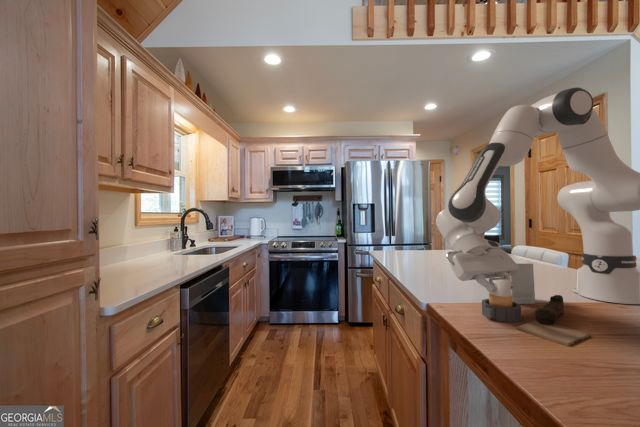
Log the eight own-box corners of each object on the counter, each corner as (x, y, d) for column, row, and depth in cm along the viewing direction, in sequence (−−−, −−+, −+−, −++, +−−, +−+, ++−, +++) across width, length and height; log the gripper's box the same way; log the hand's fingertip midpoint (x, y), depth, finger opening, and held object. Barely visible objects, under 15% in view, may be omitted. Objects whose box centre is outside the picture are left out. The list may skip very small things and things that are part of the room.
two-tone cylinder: (497, 311, 78) (495, 276, 78) (517, 317, 73) (515, 280, 73) (485, 314, 75) (483, 279, 76) (505, 321, 71) (503, 282, 71)
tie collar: (494, 308, 80) (494, 297, 80) (528, 318, 72) (527, 305, 72) (471, 314, 76) (471, 302, 76) (504, 325, 68) (504, 311, 68)
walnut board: (538, 321, 70) (538, 319, 70) (590, 336, 61) (590, 333, 61) (516, 329, 65) (515, 326, 65) (568, 346, 56) (567, 343, 56)
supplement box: (536, 304, 84) (534, 263, 84) (512, 304, 84) (510, 263, 84) (519, 297, 91) (517, 259, 91) (496, 297, 91) (495, 260, 91)
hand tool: (555, 327, 64) (555, 307, 64) (534, 322, 67) (534, 303, 67) (573, 313, 75) (573, 296, 76) (555, 309, 79) (554, 293, 79)
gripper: (448, 245, 78) (478, 286, 69) (502, 242, 84) (537, 279, 75) (438, 258, 83) (465, 299, 73) (490, 254, 88) (521, 292, 79)
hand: (502, 289), depth 74 cm, fingers closed on two-tone cylinder, 5 cm apart
